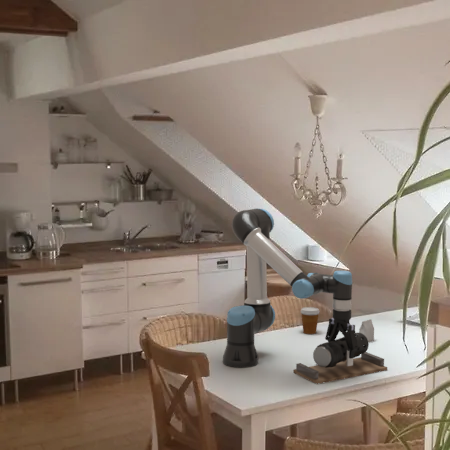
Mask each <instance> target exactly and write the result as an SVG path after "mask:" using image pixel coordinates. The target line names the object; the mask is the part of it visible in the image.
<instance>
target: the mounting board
mask: <svg viewBox="0 0 450 450" xmlns="http://www.w3.org/2000/svg"><path fill="white" fill-rule="evenodd" d="M295 365H296V366H295V367H296V368H294V369H293V370H292V371H293V374H295V375H297V376H300V377H302V378H304V379H306V380H308V381H310V382H312V383H314V384H316V383H317V384H316V385H319V384H318V383H320V384H324V383H323V382H325V383H330V382H334V381H340V380H344V378H345V379H350V378H354V377H359V376H365V375H369V374H370V375H371V374H374V372H375V373H379V371H380V372H384V370H385V371H388V367H387V366H385V358H382V357H380V356H377V355H375V354H372V353H370V352H367V351H366V352H365V353H362V354H360V356H358V357H355V358H353V365H352V366H347V360H346V361H345V362H343V361H342V362H339V363H337V364H336V366H334V367H328V368H325V367H320V366H318V365H317V364H316V365H311V366H307V365H305V364H304V363H301V362H298V363H295ZM364 374H365V375H364ZM329 381H330V382H329Z"/></svg>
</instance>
